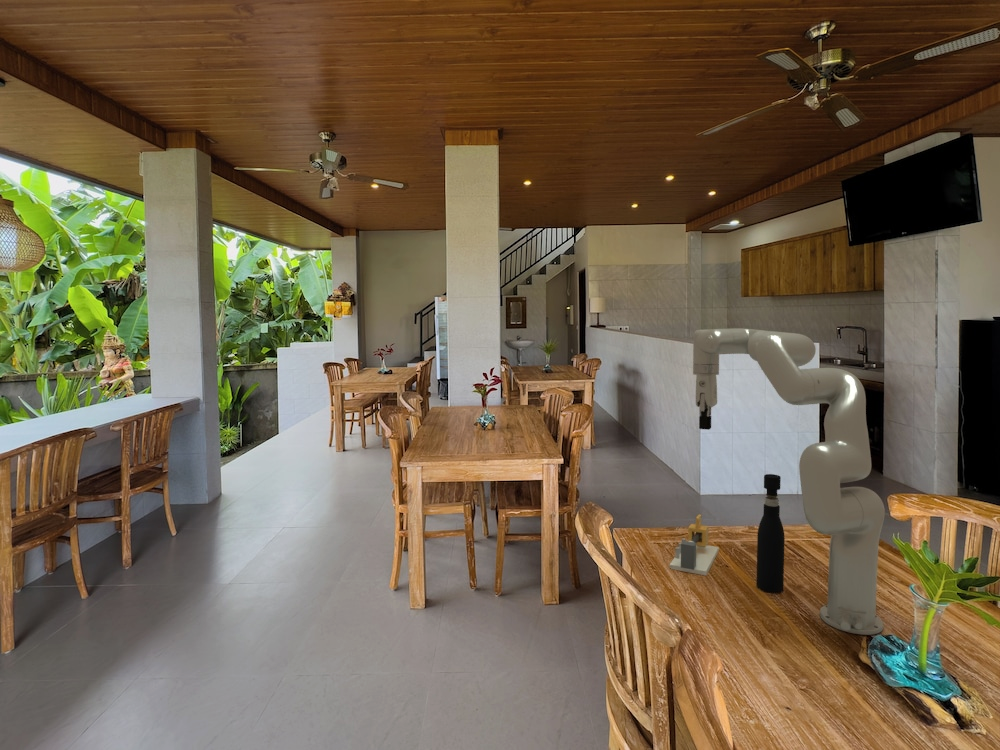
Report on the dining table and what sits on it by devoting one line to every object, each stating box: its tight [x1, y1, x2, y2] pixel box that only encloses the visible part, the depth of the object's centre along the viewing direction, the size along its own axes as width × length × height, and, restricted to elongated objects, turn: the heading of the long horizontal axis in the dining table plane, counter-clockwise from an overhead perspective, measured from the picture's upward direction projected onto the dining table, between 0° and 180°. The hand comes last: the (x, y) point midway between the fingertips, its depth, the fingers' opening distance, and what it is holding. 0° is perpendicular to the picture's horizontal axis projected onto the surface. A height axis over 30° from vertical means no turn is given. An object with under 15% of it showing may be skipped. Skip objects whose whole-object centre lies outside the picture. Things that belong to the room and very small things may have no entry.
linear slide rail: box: [669, 532, 720, 577], centre depth 170 cm, size 20×10×8 cm, turn 150°
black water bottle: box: [756, 473, 786, 594], centre depth 150 cm, size 6×6×30 cm
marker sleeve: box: [687, 514, 709, 547], centre depth 174 cm, size 4×5×8 cm
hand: (705, 428), depth 179 cm, fingers closed
